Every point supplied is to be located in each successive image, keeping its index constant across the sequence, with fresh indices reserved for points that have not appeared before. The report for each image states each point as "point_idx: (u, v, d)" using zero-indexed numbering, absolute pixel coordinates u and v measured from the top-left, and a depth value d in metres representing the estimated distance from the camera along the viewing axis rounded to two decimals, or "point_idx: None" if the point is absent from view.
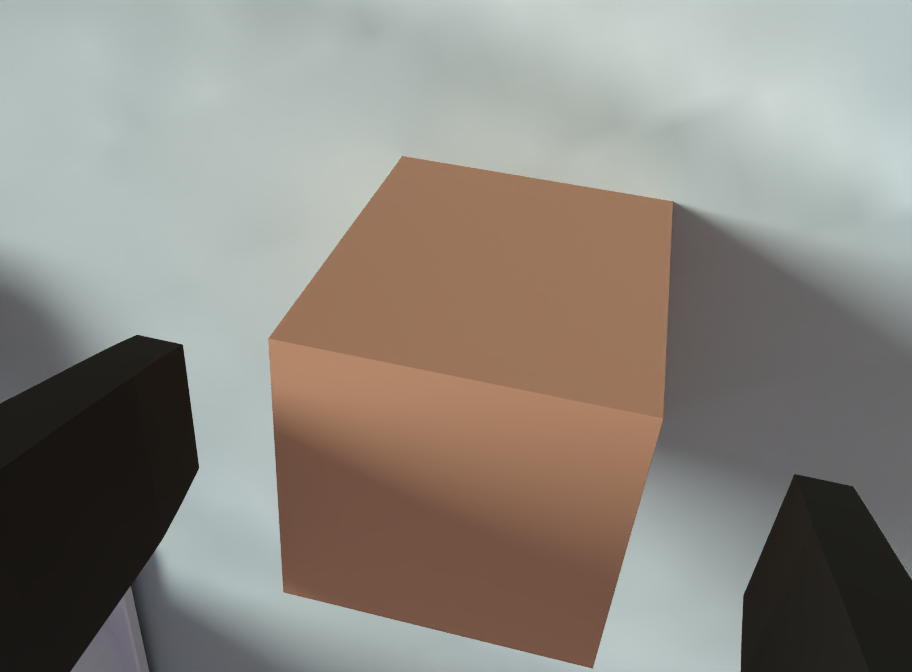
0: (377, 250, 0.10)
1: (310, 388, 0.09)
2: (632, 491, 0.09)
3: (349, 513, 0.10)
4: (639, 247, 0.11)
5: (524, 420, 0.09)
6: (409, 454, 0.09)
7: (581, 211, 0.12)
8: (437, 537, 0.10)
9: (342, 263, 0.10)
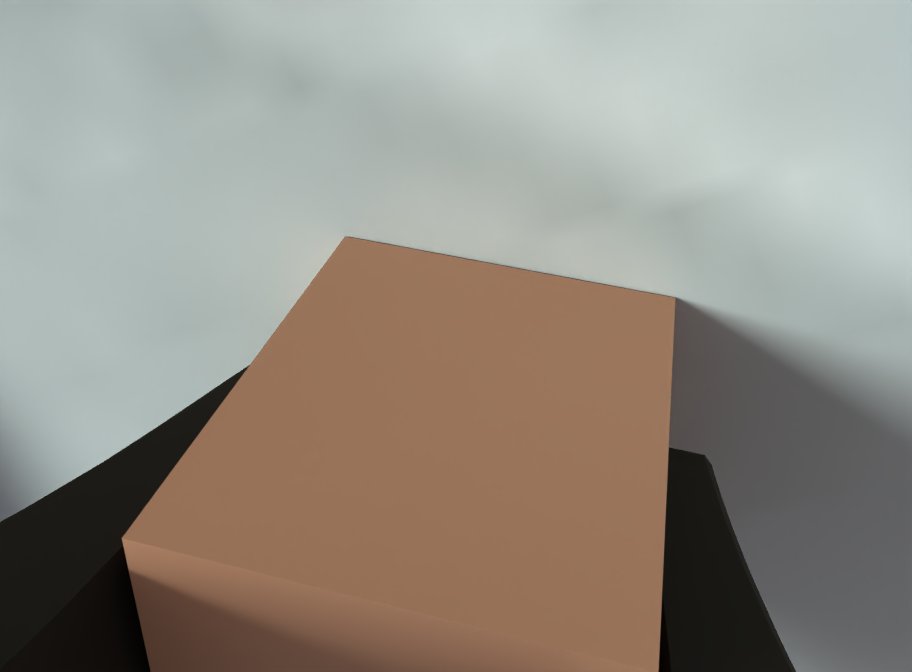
0: (293, 383, 0.08)
1: (183, 598, 0.07)
2: None
3: None
4: (632, 371, 0.09)
5: (468, 656, 0.06)
6: None
7: (561, 316, 0.09)
8: None
9: (244, 406, 0.08)
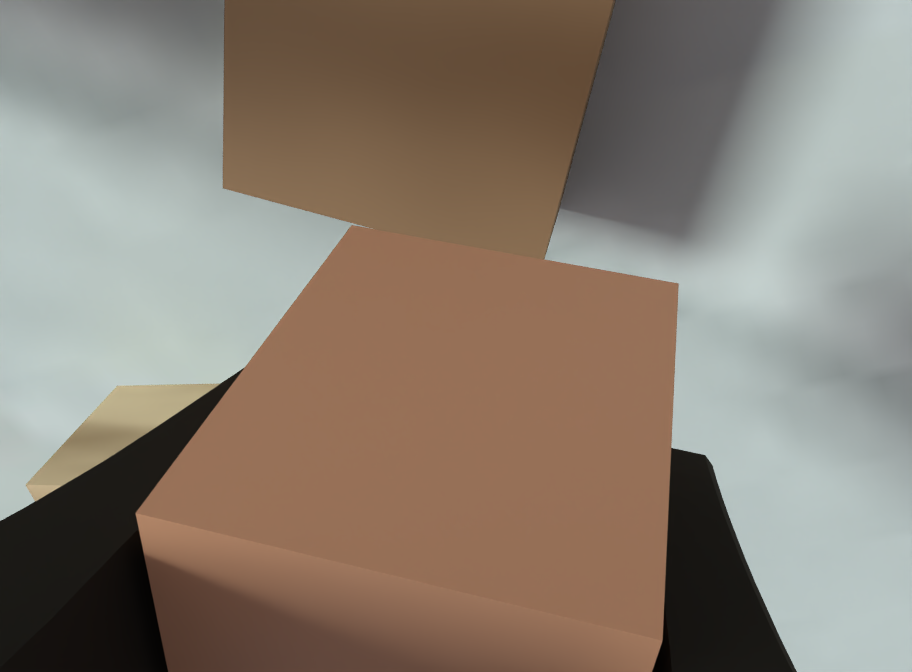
0: (301, 366, 0.08)
1: (196, 572, 0.07)
2: None
3: None
4: (635, 354, 0.09)
5: (474, 627, 0.06)
6: (328, 655, 0.07)
7: (565, 301, 0.09)
8: None
9: (253, 387, 0.08)
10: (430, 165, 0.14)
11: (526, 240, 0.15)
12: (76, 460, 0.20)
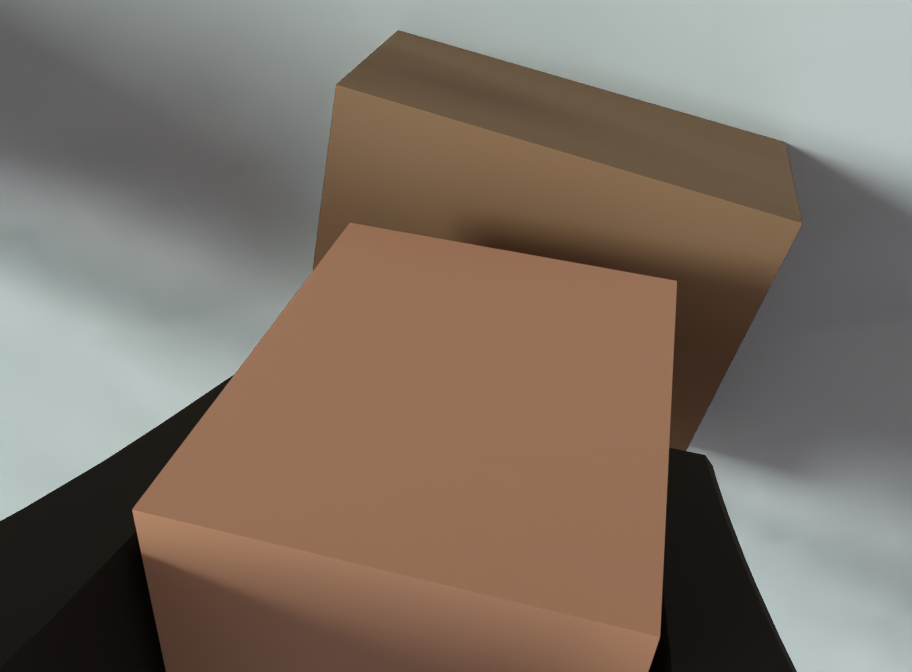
0: (299, 363, 0.08)
1: (193, 569, 0.07)
2: None
3: None
4: (634, 351, 0.09)
5: (472, 624, 0.06)
6: (325, 651, 0.07)
7: (563, 299, 0.09)
8: None
9: (251, 384, 0.08)
10: None
11: None
12: None
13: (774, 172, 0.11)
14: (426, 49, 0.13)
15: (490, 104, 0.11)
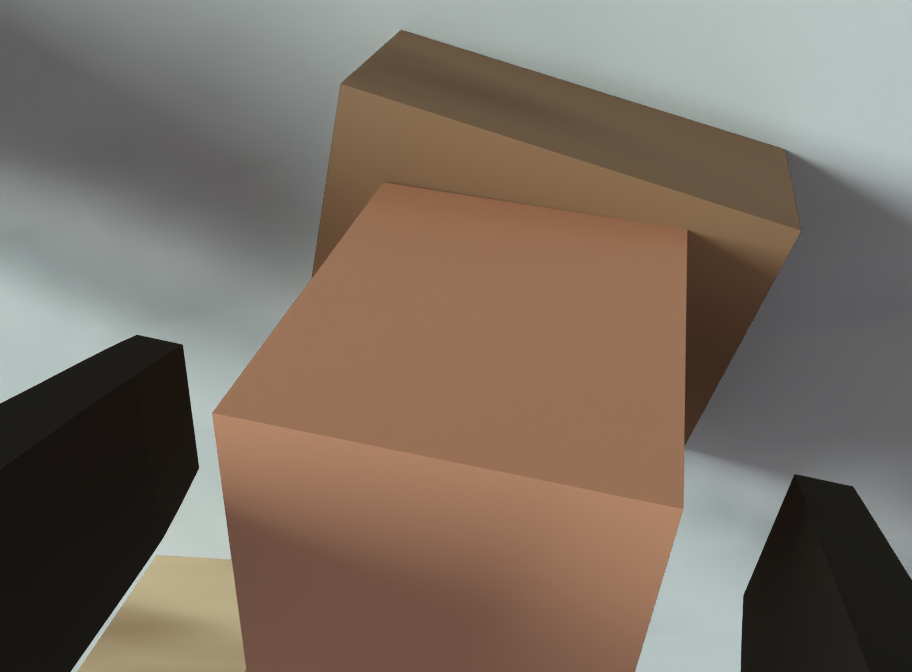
0: (348, 297, 0.09)
1: (264, 468, 0.08)
2: (647, 588, 0.07)
3: (318, 605, 0.09)
4: (650, 287, 0.10)
5: (517, 508, 0.07)
6: (381, 543, 0.08)
7: (584, 244, 0.10)
8: (420, 633, 0.08)
9: (306, 314, 0.09)
10: None
11: None
12: (118, 658, 0.19)
13: (774, 178, 0.12)
14: (430, 49, 0.13)
15: (494, 106, 0.11)
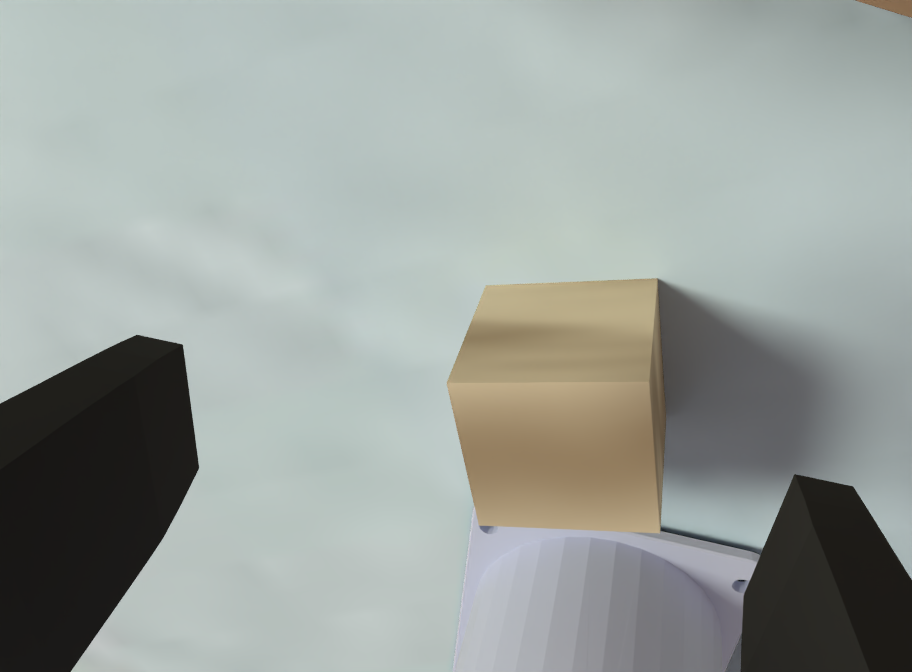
0: None
1: None
2: None
3: None
4: None
5: None
6: None
7: None
8: None
9: None
10: None
11: None
12: (494, 357, 0.18)
13: None
14: None
15: None
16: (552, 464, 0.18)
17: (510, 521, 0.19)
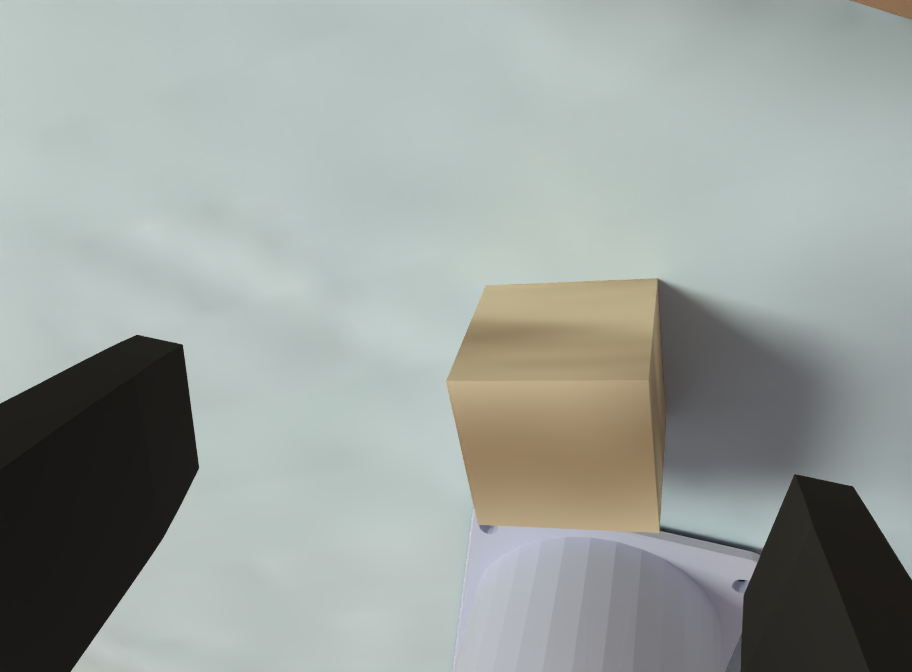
0: None
1: None
2: None
3: None
4: None
5: None
6: None
7: None
8: None
9: None
10: None
11: None
12: (493, 356, 0.18)
13: None
14: None
15: None
16: (551, 464, 0.18)
17: (509, 520, 0.19)
